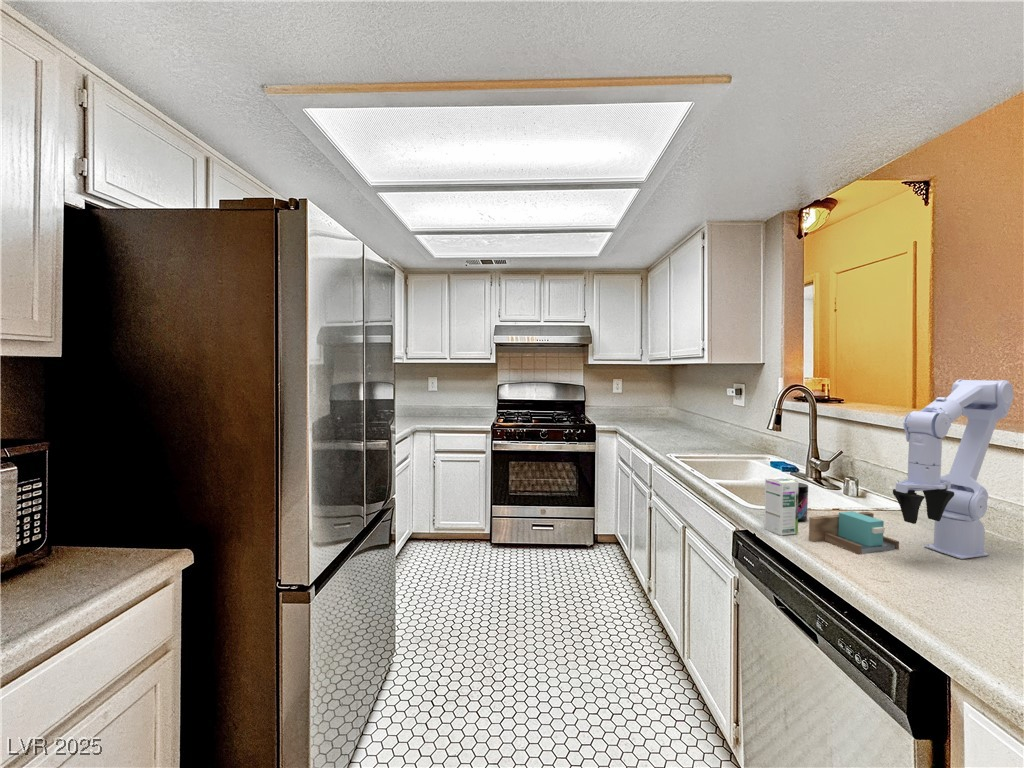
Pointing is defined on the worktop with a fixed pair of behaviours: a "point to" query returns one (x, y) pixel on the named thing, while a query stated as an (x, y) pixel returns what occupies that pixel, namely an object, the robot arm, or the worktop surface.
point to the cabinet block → (861, 528)
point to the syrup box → (781, 506)
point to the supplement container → (802, 502)
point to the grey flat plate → (871, 549)
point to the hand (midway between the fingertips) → (922, 521)
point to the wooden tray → (836, 532)
